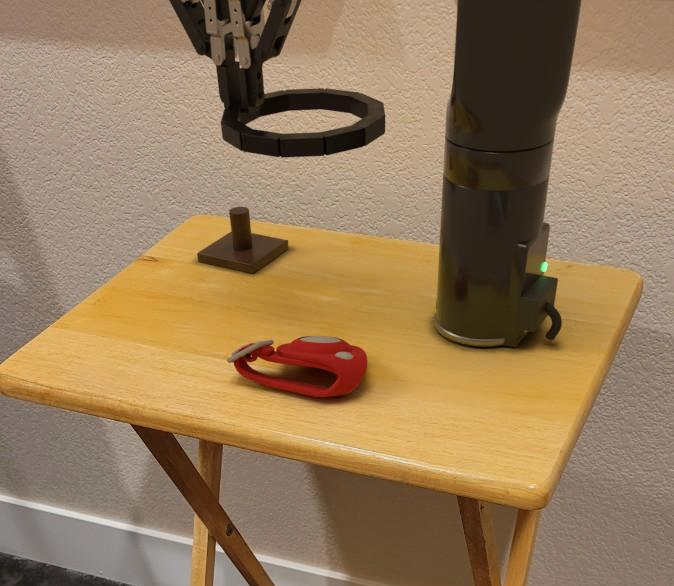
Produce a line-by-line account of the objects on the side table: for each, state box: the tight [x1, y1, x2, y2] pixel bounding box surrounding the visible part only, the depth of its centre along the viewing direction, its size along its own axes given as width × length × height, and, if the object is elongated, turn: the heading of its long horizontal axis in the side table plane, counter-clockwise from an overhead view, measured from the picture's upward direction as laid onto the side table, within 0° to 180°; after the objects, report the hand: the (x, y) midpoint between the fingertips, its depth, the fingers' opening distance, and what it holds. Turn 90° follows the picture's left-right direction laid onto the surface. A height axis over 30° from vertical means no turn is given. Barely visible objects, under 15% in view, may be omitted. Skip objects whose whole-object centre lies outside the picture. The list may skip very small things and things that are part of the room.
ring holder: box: [196, 206, 289, 274], centre depth 99 cm, size 8×8×5 cm
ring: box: [220, 87, 386, 159], centre depth 81 cm, size 15×15×2 cm
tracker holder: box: [226, 335, 368, 398], centre depth 79 cm, size 12×4×10 cm
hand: (243, 109), depth 83 cm, fingers closed on ring, 1 cm apart
